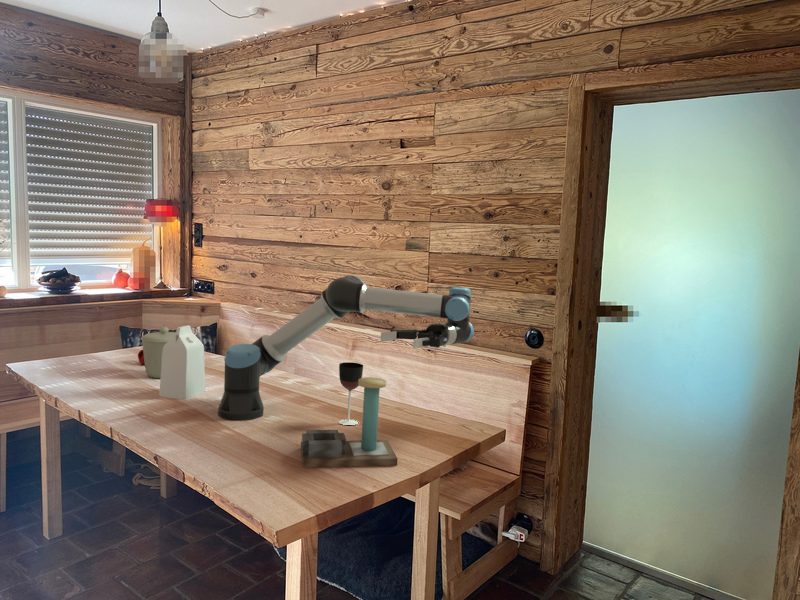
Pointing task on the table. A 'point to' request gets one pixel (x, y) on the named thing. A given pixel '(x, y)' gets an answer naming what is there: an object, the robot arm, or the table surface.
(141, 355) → the pomegranate
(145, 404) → the table surface
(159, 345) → the canister
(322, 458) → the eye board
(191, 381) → the milk
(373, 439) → the disc-capped post
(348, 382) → the wineglass
